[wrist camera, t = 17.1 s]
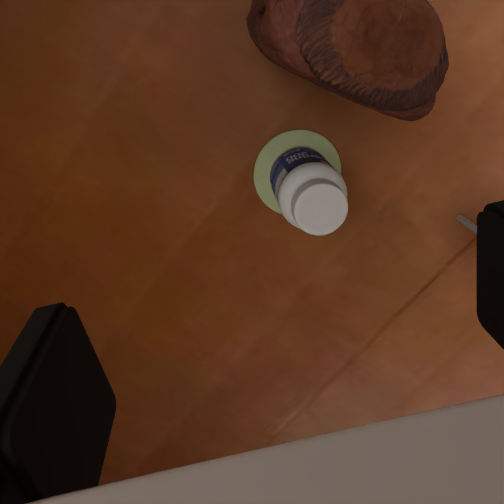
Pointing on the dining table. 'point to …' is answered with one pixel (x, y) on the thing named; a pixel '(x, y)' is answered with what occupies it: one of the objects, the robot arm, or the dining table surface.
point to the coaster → (278, 146)
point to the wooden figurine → (358, 49)
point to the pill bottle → (309, 190)
